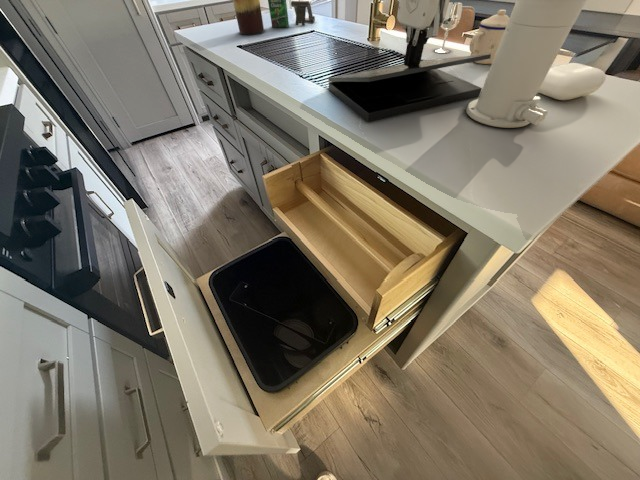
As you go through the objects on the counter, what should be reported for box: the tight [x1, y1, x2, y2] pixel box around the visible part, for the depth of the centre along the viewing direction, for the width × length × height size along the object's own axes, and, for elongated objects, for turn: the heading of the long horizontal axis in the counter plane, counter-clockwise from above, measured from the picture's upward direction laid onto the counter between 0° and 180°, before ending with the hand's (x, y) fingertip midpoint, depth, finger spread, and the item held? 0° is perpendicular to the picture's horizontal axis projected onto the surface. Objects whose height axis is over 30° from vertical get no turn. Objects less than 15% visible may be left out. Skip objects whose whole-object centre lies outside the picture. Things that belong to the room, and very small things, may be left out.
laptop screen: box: [328, 54, 491, 83], centre depth 63 cm, size 21×30×1 cm
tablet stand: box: [290, 0, 316, 26], centre depth 124 cm, size 9×8×8 cm
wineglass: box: [434, 1, 463, 54], centre depth 84 cm, size 6×6×12 cm
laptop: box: [328, 68, 483, 123], centre depth 66 cm, size 21×30×2 cm
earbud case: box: [537, 62, 607, 101], centre depth 61 cm, size 10×13×5 cm
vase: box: [232, 0, 265, 36], centre depth 112 cm, size 11×11×20 cm
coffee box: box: [267, 0, 290, 29], centre depth 119 cm, size 8×3×13 cm, turn 70°
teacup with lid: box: [469, 9, 510, 65], centre depth 77 cm, size 12×9×12 cm
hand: (411, 65), depth 60 cm, fingers closed
